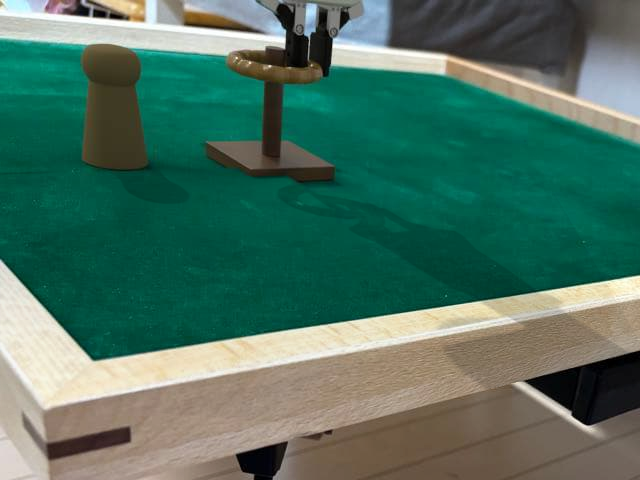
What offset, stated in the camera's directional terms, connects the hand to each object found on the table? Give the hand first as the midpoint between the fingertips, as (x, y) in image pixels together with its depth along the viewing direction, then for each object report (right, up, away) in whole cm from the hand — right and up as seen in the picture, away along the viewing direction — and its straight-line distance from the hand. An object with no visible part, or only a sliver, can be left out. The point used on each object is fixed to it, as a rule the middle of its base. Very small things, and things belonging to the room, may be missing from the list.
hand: (307, 72), depth 94 cm
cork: (-18, -11, -6) cm, 22 cm away
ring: (-3, -1, -3) cm, 4 cm away
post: (-5, -10, +2) cm, 11 cm away
